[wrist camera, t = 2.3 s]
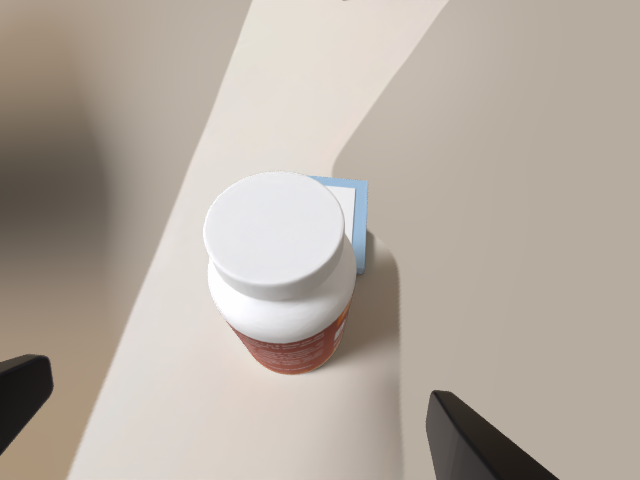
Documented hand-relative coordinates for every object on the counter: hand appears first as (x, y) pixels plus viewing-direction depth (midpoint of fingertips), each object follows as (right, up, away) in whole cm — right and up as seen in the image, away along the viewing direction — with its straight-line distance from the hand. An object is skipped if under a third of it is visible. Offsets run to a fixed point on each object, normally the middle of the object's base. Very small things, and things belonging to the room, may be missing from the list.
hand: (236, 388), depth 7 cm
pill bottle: (0, -2, +12) cm, 13 cm away
